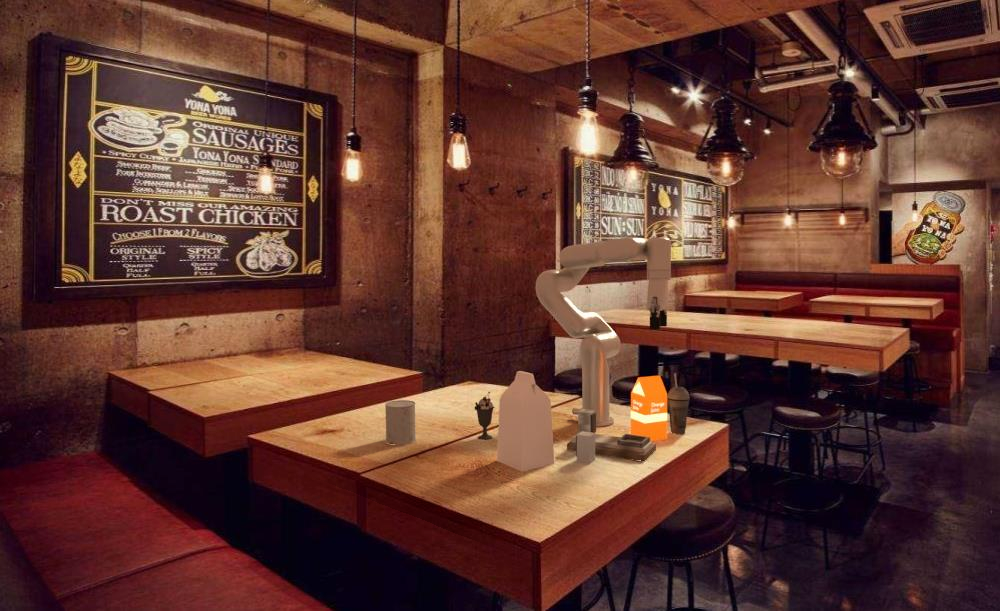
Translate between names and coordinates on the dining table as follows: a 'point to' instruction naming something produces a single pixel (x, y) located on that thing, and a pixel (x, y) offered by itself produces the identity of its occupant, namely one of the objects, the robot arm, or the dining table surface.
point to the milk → (525, 425)
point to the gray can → (400, 422)
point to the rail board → (613, 440)
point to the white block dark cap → (585, 447)
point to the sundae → (484, 416)
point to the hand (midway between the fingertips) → (658, 327)
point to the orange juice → (649, 408)
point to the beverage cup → (678, 408)
